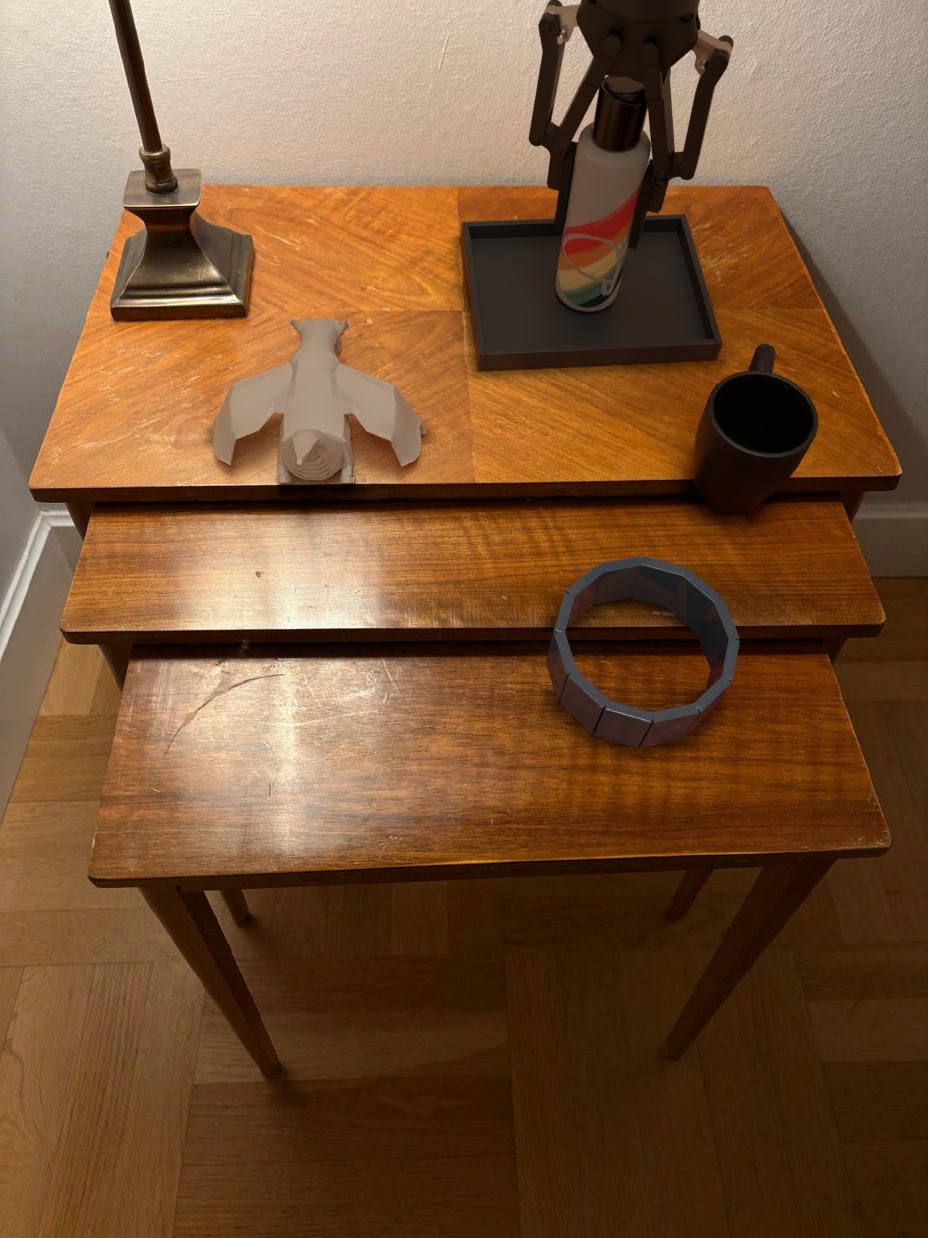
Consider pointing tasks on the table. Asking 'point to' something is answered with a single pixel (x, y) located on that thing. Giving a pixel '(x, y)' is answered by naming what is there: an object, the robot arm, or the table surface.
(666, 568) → the segmented bangle bracelet
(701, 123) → the robot arm
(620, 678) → the table surface
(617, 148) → the white cylindrical bottle
